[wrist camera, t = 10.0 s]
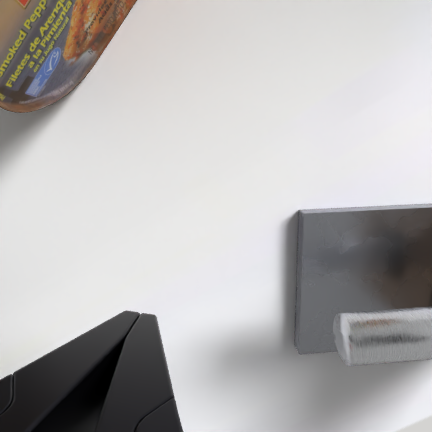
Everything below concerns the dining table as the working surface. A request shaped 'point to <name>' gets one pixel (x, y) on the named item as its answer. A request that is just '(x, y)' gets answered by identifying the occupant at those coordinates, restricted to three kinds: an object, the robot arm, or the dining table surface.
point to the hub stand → (365, 283)
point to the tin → (52, 47)
